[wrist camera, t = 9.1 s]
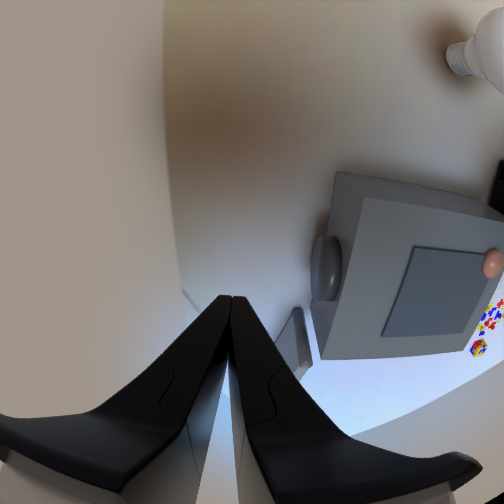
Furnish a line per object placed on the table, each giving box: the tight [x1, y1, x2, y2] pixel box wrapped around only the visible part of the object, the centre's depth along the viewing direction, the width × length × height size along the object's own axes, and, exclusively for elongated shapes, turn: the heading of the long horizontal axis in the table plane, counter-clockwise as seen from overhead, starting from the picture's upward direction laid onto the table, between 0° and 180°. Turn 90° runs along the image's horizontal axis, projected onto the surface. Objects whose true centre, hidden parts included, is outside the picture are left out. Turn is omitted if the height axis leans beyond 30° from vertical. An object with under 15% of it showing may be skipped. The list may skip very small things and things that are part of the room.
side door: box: [275, 308, 313, 381], centre depth 26 cm, size 14×1×6 cm, turn 160°
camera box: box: [310, 172, 504, 360], centre depth 20 cm, size 15×12×7 cm
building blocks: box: [470, 299, 504, 357], centre depth 27 cm, size 6×8×2 cm
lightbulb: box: [446, 7, 504, 96], centre depth 10 cm, size 6×6×11 cm
